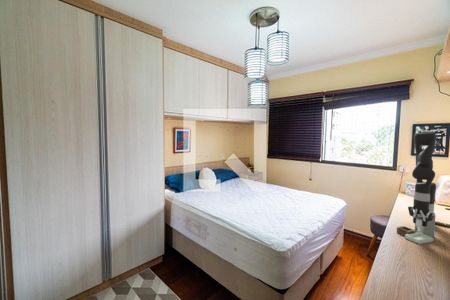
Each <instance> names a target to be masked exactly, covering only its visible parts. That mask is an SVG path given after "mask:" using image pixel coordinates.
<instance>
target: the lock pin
mask: <svg viewBox="0 0 450 300" xmlns="http://www.w3.org/2000/svg"><path fill="white" fill-rule="evenodd" d="M415 218H416V226H415V225H414V230H415V231H416V232H418V233H424V227H423V221H424V220H423V217H422V216H415ZM416 232H415V233H416Z"/></svg>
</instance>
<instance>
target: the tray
mask: <svg viewBox="0 0 450 300" xmlns="http://www.w3.org/2000/svg"><path fill="white" fill-rule="evenodd" d="M404 239H406V240H408V241H410V242H413V243H416V244H417V243H418V245H422V244H428V243H434V237H430V236H427V235H424V234H422V233H416V232H415V233H412V234H406V235H405V236H404Z"/></svg>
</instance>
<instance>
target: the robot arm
mask: <svg viewBox="0 0 450 300" xmlns="http://www.w3.org/2000/svg"><path fill="white" fill-rule="evenodd" d="M436 141H437V137H436V133H435V132H417V133H415V134H414V135H413V143H414V151H415V167H414V169H413V171H412V174H411V176H412V177H413V179H416V183H415V184H414V194H413V205H412V206H408V207H407V209H408V213H409V216H411V217H412V223H413V224H414V225H415V224H416V218H415V216H418V215H419V214H420V215H422V217H423V220H424V221H423V227H426V226H427V223H428V221H432V219H433V217H434V215H436V213H435V201H436V192H437V191H436V190H437V184H436V183H435V182H433V181H434V179H435V178H436V172H435V170H433V169H434V161H433V155H434V150H435V146H436ZM422 146H426V147H425V149H423V148H422ZM423 180H424V181H423ZM428 213H429V217H428V215H427V214H428ZM424 215H425V216H424Z"/></svg>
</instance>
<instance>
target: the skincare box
mask: <svg viewBox="0 0 450 300" xmlns="http://www.w3.org/2000/svg"><path fill="white" fill-rule="evenodd" d="M427 215H428V217H429V213H428V214H427ZM418 216H422V215H420V214H419V215H418ZM424 216H425V215H424ZM436 216H437V215H436V214H435V215H434V217H433V219H432V221H428V223H427V226H426V227H424V233H422V234H424V235H427V236H430V237H432V238H435V225H436ZM415 226H416V224H415V223H414V227H415ZM415 233H418V232H415Z"/></svg>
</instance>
